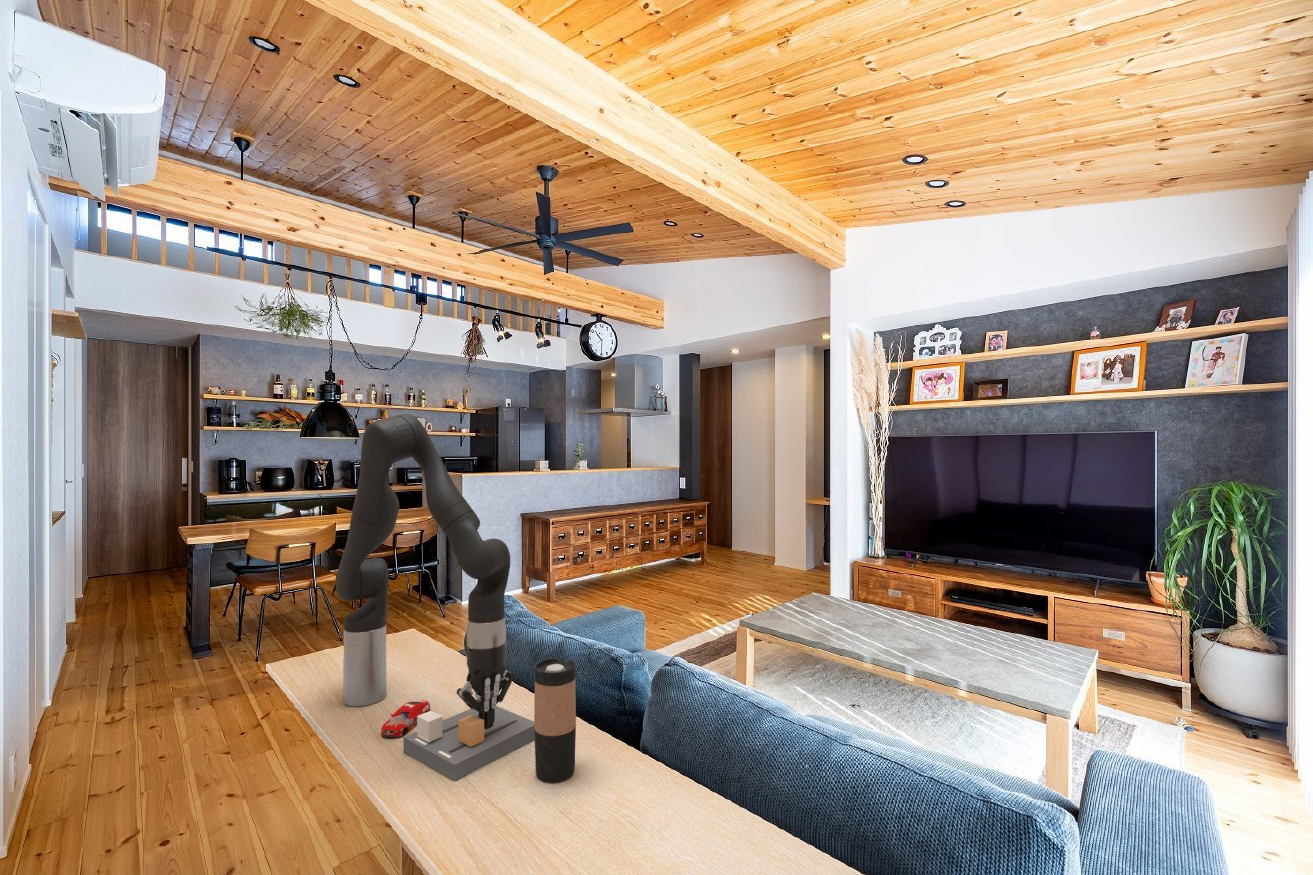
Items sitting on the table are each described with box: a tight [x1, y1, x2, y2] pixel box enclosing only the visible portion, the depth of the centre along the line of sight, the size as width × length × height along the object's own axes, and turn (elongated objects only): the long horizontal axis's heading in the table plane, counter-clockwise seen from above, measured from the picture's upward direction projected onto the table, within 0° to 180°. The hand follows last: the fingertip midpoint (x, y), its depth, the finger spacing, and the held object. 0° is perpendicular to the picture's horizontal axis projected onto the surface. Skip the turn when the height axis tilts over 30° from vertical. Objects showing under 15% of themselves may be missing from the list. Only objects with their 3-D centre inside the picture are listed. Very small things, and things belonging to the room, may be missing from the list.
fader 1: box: [416, 710, 443, 742], centre depth 119 cm, size 4×3×4 cm
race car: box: [380, 699, 431, 739], centre depth 131 cm, size 13×5×4 cm, turn 168°
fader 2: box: [458, 715, 484, 747], centre depth 118 cm, size 4×3×4 cm
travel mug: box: [533, 657, 577, 784], centre depth 112 cm, size 8×8×20 cm
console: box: [402, 705, 535, 782], centre depth 123 cm, size 17×20×3 cm
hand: (486, 727), depth 121 cm, fingers closed
